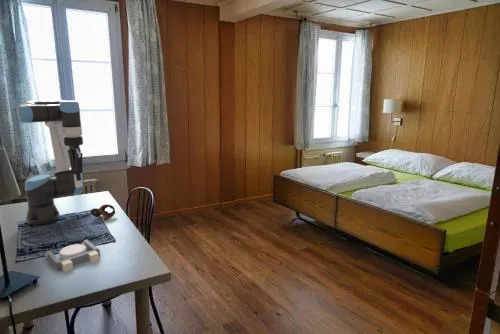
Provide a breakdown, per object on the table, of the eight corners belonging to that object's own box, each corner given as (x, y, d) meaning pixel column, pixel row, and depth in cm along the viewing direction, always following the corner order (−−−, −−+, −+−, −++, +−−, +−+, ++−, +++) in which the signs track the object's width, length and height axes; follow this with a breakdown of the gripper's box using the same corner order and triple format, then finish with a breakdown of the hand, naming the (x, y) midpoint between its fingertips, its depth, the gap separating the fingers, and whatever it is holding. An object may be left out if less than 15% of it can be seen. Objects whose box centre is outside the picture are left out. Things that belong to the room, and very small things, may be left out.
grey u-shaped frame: (45, 256, 139) (44, 250, 139) (86, 244, 150) (85, 238, 150) (60, 273, 127) (59, 266, 126) (103, 258, 138) (102, 252, 137)
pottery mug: (112, 213, 188) (116, 203, 184) (113, 226, 181) (116, 215, 177) (89, 212, 182) (92, 201, 178) (88, 225, 175) (91, 214, 171)
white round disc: (58, 255, 141) (57, 248, 140) (83, 248, 147) (82, 241, 146) (62, 265, 133) (61, 257, 132) (89, 257, 139) (88, 250, 138)
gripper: (59, 135, 151) (65, 185, 157) (68, 138, 142) (74, 191, 148) (77, 133, 156) (82, 182, 162) (86, 137, 147) (92, 188, 153)
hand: (78, 186), depth 155 cm, fingers closed
